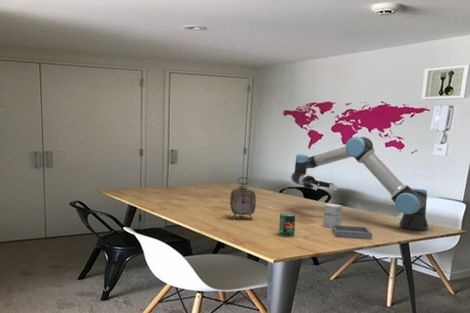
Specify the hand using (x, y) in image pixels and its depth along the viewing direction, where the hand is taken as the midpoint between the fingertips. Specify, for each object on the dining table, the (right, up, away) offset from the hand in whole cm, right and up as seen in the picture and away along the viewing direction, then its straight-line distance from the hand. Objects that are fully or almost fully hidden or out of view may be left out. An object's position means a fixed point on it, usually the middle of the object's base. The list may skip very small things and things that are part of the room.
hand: (326, 188), depth 239 cm
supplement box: (+2, -22, -6) cm, 23 cm away
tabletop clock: (-49, -19, +5) cm, 53 cm away
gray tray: (+8, -23, -23) cm, 33 cm away
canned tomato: (-27, -22, -29) cm, 45 cm away
